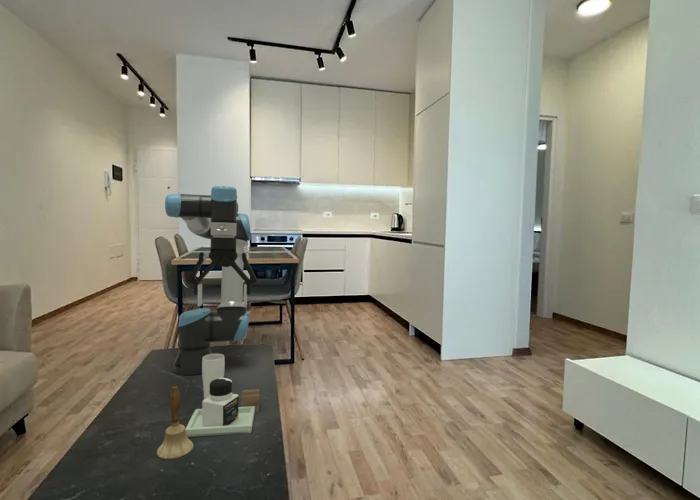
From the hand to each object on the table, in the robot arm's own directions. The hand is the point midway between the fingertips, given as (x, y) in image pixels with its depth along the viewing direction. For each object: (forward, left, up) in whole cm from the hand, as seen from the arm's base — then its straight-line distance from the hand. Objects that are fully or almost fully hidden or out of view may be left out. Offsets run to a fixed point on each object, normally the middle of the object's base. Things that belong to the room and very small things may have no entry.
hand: (222, 305), depth 118 cm
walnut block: (+3, +9, -32) cm, 33 cm away
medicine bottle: (+12, +2, -31) cm, 34 cm away
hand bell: (+24, -7, -32) cm, 40 cm away
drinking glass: (-2, -3, -32) cm, 32 cm away
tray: (+12, +2, -32) cm, 34 cm away
